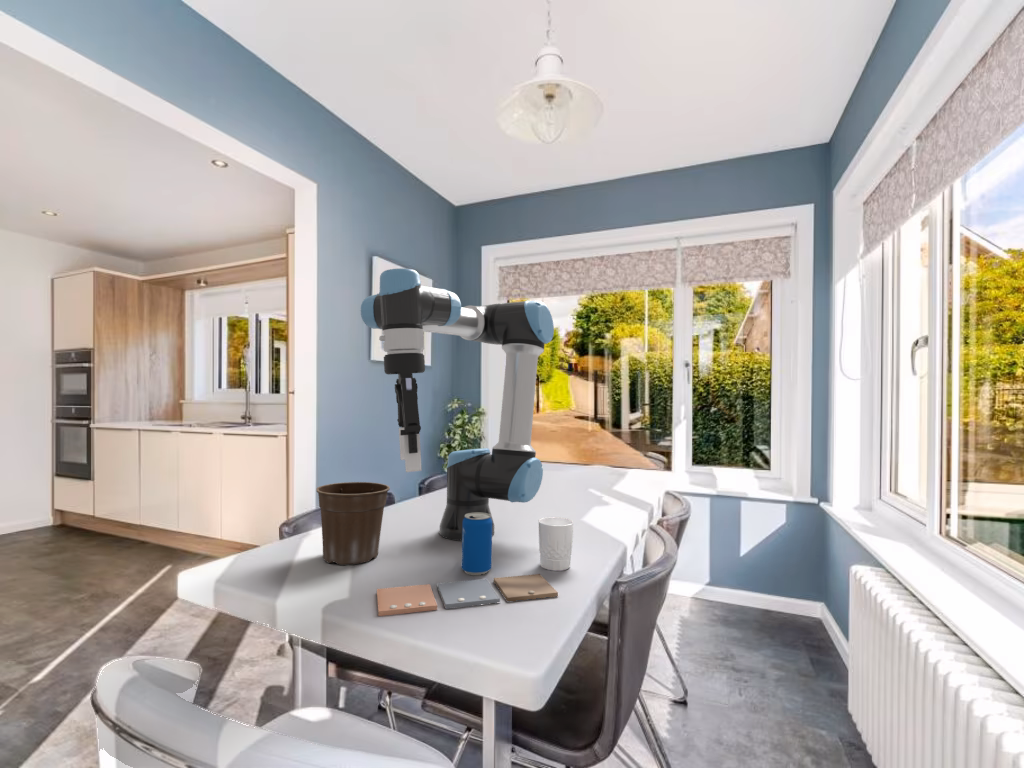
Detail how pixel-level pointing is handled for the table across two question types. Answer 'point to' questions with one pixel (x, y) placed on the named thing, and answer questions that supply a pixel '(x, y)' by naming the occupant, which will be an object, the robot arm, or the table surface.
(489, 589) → the two-dot tile
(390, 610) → the three-dot tile
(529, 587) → the one-dot tile
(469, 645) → the table surface
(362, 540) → the plant pot
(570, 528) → the white cup
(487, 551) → the beverage can
